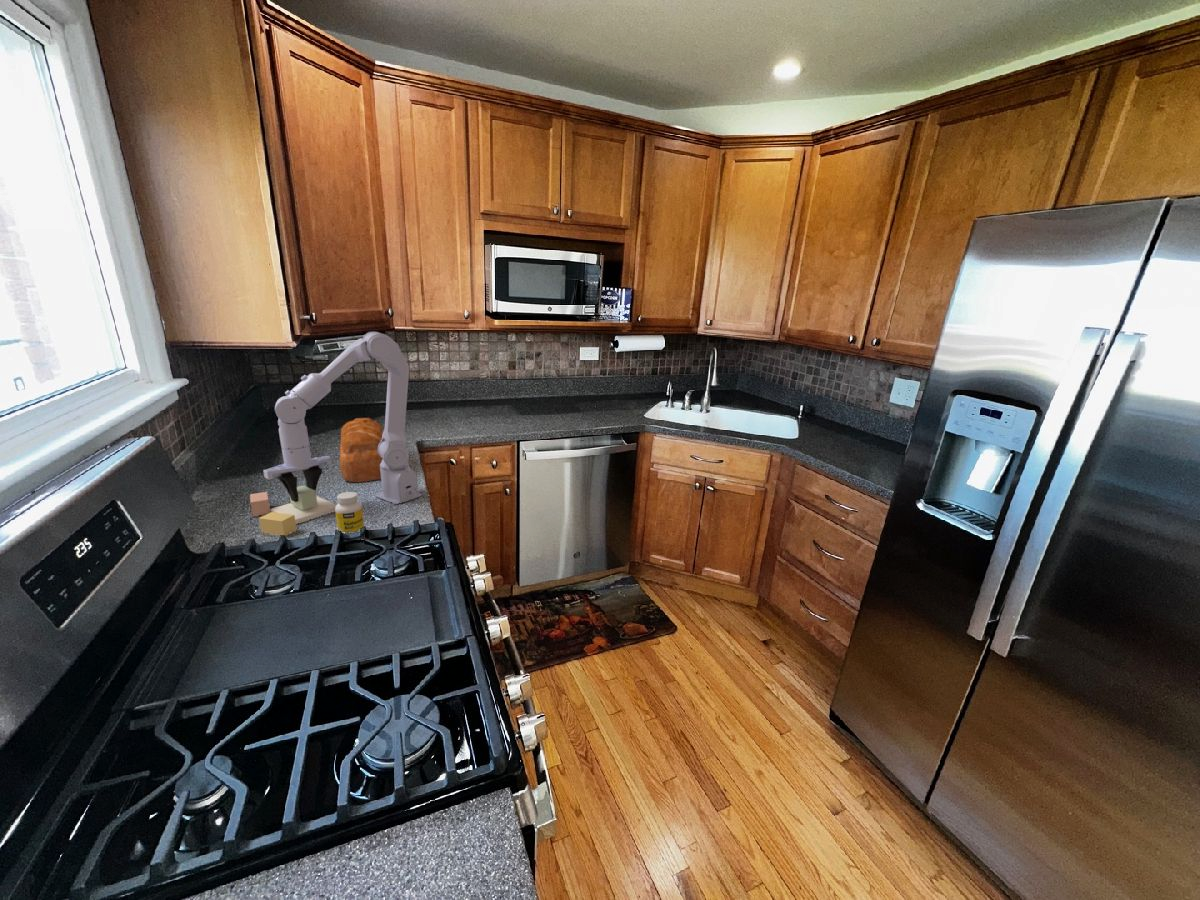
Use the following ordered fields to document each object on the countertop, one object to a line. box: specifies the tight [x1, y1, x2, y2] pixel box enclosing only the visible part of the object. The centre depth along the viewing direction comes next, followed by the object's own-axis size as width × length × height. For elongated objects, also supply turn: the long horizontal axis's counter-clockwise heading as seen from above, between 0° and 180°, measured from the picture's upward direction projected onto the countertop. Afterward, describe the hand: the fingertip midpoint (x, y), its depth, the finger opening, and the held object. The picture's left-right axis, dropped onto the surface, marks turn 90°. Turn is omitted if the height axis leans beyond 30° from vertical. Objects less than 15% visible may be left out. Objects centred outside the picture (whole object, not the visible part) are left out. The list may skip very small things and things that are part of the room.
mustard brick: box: [258, 511, 297, 536], centre depth 108 cm, size 6×4×4 cm, turn 79°
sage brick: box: [288, 484, 318, 510], centre depth 118 cm, size 6×4×4 cm, turn 57°
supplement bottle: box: [334, 491, 365, 533], centre depth 107 cm, size 5×5×10 cm
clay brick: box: [249, 491, 271, 517], centre depth 118 cm, size 6×4×4 cm, turn 36°
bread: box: [339, 417, 384, 483], centre depth 149 cm, size 14×26×16 cm, turn 27°
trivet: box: [270, 495, 337, 525], centre depth 119 cm, size 11×11×1 cm
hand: (303, 498), depth 118 cm, fingers closed on sage brick, 3 cm apart
